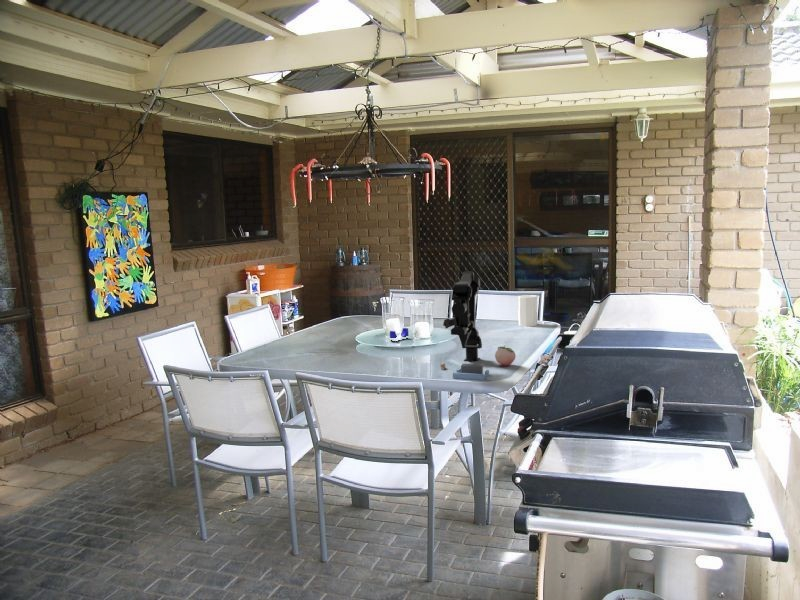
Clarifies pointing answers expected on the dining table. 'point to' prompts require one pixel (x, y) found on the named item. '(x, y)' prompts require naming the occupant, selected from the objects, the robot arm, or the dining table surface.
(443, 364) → the tan wooden block
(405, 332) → the cable clip
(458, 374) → the separate blue rectangular blocks
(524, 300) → the cup
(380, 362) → the dining table surface
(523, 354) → the dining table surface
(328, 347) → the dining table surface
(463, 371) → the tall grey block
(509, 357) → the decorative fruit
